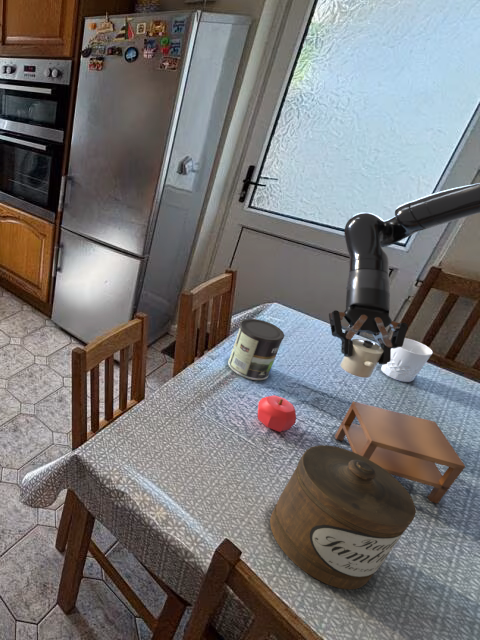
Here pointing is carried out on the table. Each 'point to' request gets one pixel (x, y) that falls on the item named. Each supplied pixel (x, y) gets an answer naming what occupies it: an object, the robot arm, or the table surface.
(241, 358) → the coffee can
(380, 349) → the kettle
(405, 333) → the robot arm
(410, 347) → the white cup
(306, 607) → the table surface
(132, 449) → the table surface
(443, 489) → the stand
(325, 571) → the wooden container
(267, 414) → the apple
